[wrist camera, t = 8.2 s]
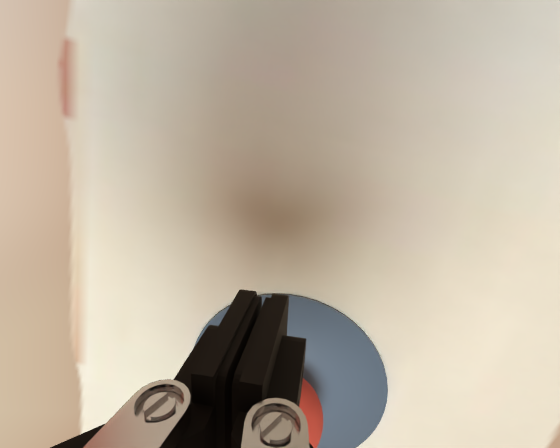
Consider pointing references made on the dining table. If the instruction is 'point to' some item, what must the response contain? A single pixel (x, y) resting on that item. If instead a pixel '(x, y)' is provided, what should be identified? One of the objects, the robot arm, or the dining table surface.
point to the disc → (336, 370)
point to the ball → (312, 412)
